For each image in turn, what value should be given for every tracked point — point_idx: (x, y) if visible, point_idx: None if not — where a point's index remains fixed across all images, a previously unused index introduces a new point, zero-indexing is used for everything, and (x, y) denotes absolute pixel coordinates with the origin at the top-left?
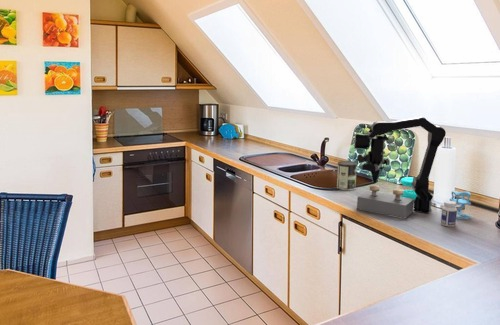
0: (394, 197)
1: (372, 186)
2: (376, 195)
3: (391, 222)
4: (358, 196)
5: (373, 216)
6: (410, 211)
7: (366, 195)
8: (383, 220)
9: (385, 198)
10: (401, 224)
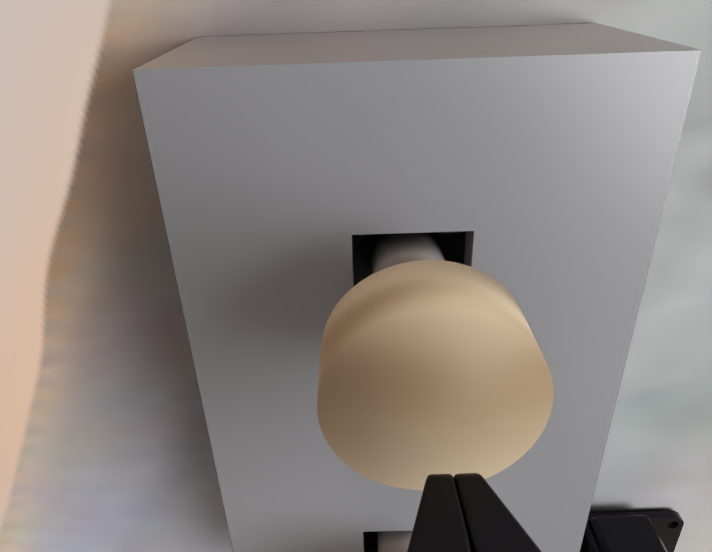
0: None
1: (383, 382)
2: None
3: (91, 484)
4: (156, 79)
5: (103, 320)
6: None
7: (343, 176)
8: (78, 426)
9: None
10: (115, 543)
